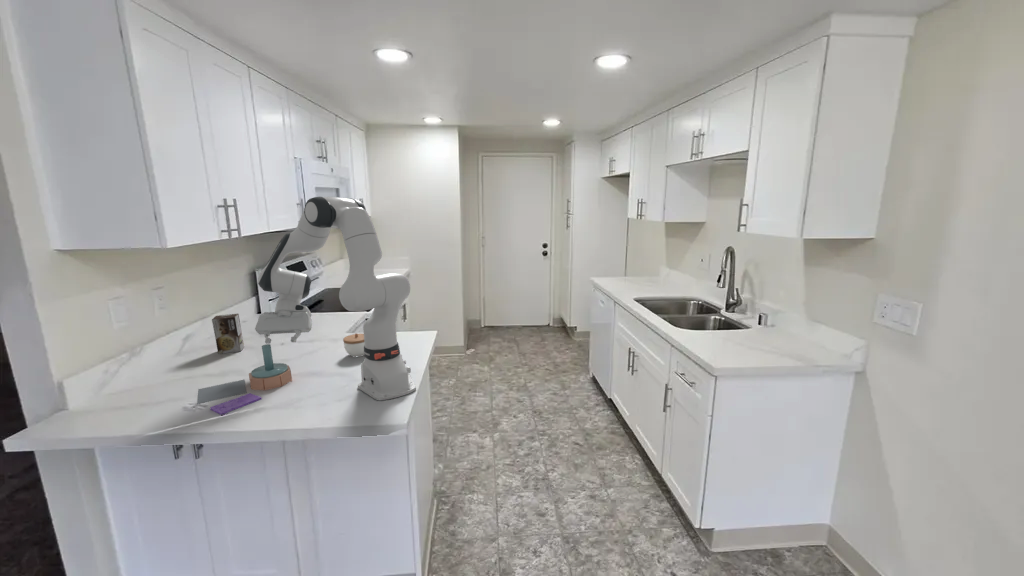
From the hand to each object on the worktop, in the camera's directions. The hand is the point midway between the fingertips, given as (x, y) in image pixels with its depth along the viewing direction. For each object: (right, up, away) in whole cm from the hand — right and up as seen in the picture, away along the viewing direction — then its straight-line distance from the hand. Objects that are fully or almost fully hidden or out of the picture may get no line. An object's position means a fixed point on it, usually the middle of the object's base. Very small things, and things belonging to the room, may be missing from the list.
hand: (280, 342), depth 168 cm
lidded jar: (+24, -8, +18) cm, 31 cm away
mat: (-12, -15, -16) cm, 25 cm away
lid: (+2, -9, -10) cm, 14 cm away
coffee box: (-36, -7, +27) cm, 46 cm away
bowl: (+2, -14, -9) cm, 17 cm away
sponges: (0, -18, -26) cm, 32 cm away
